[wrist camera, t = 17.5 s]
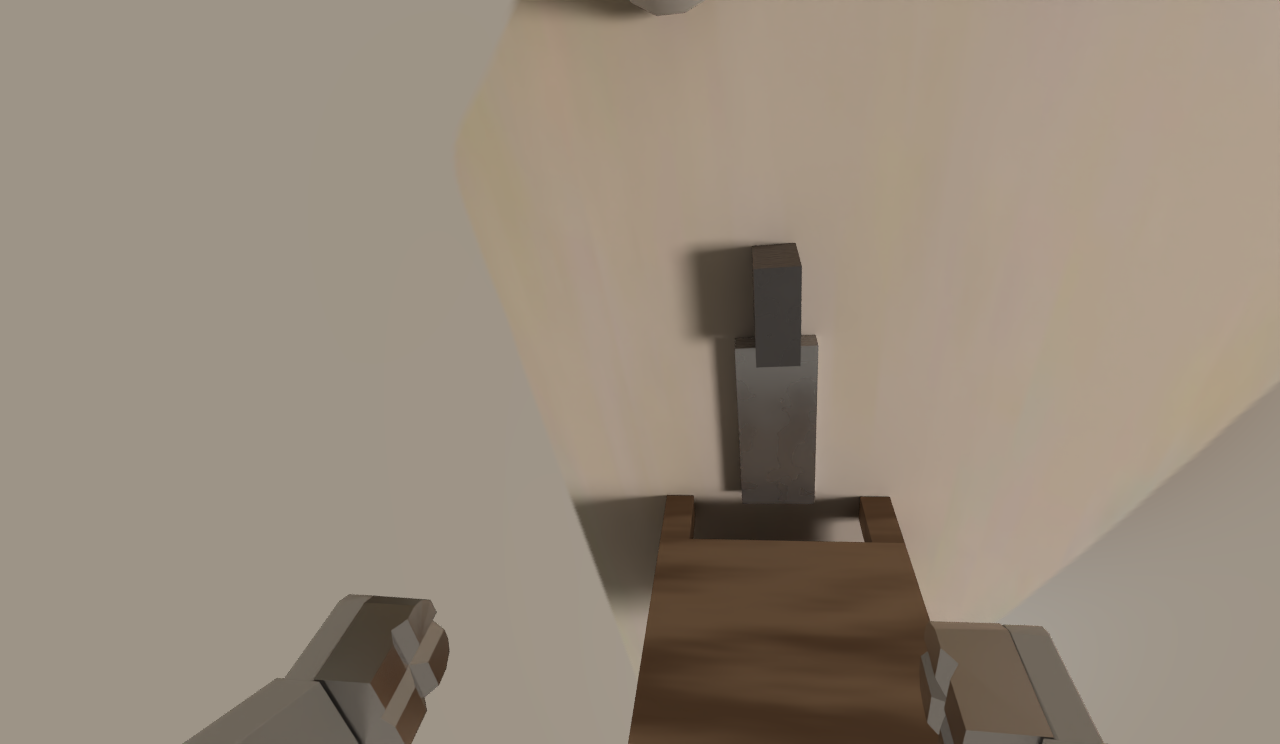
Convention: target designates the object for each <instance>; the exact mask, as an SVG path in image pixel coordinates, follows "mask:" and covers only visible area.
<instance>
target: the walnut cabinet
mask: <svg viewBox="0 0 1280 744" xmlns="http://www.w3.org/2000/svg"><path fill="white" fill-rule="evenodd" d="M859 521H860V526H861V530H862V534H863V538H864V542H823V541H773V540H723V539H693V535H694V525H695V507H694V496H682V495H667V500H666V506H665V513H664V519H663V525H662V532H661V538H660V544H659V551H658V557H657V563H656V570H655V576H654V582H653V589H652V595H651V601H650V608H649V614H648V620H647V627H646V633H645V639H644V646H643V652H642V659H641V665H640V671H639V678H638V684H637V690H636V697H635V703H634V709H633V716H632V722H631V729H630V735H629V741H628V744H937V742H938V737H939V735H938V734H937V733H936V732H935V731H934V730H933V729H932V728H931V726H930V725H929V724H928V723H927V720H926V716H925V712H924V708H923V703H922V697H921V691H920V676H919V668H920V659H921V656H922V655H923V654H925V653H926V652H927V651H928V650H927V646H926V643H925V639H924V633H925V628H926V625H927V623H928V622H929V621H930V619H929V616H928V613H927V610H926V607H925V604H924V601H923V598H922V595H921V592H920V589H919V586H918V582H917V579H916V576H915V573H914V570H913V567H912V564H911V561H910V558H909V555H908V552H907V549H906V546H905V542H904V539H903V536H902V533H901V530H900V527H899V524H898V521H897V518H896V515H895V512H894V509H893V506H892V503H891V499H890V497H860V506H859Z"/></svg>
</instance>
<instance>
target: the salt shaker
mask: <svg viewBox="0 0 1280 744" xmlns="http://www.w3.org/2000/svg"><path fill="white" fill-rule="evenodd" d="M629 1H630V2H631V3H632V4H634V5H636V6H638V7H640V8H642V9H644V10H646V11H648V12H650V13H652V14H654V15H656V16H660V15H670V14H679V13H685V12H687V11H689V10H690V9H692V8H693V7H695V6H697V5H698V4H700V3H701V2H703V1H705V0H629Z"/></svg>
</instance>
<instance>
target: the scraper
mask: <svg viewBox="0 0 1280 744" xmlns="http://www.w3.org/2000/svg"><path fill="white" fill-rule="evenodd" d="M752 264H753V297H754V330H755V337H754V338H735V364H736V385H737V405H738V426H739V446H740V467H741V488H742V504H814V492H815V453H816V414H817V376H818V342H817V338H816V335H801V284H802V265H801V262H800V258H799V254H798V250H797V247H796V243H789V244H774V245H760V246H752Z"/></svg>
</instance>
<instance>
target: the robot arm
mask: <svg viewBox="0 0 1280 744" xmlns="http://www.w3.org/2000/svg"><path fill="white" fill-rule="evenodd" d="M436 613H437V612H436V610H435V608H434V606H433V604H432V602H431V600H427V599H412V598H399V597H398V598H397V597H384V596H372V595H352V594H349V595H347V596H346V597H345V598H343V599H342V600H340V601H339V602H338V604H337V605H336V606H335V608H334V609H333V611H332V612H331V614H330V615H329V616H328V618H327V619H326V621H325V622H324V623H323V625H322V626H321V628H320V629H319V630H318V632H317V633H316V635H315V636H314V638H313V639H312V640H311V642H310V643H309V644H308V646H307V647H306V649H305V650H304V651H303V653H302V654H301V656H300V657H299V658H298V660H297V661H296V663H295V664H294V666H293V667H292V668H291V670H290V671H289V672H288V674H287V675H286V677H285V678H276V679H275V680H274V681H272V682H270V683H269V684H268V685H266V686H265V687H263V688H262V689H260V690H259V691H258V692H256V693H255V694H253V695H252V696H251V697H249V698H247V699H246V700H245V701H243V702H242V703H241V704H239V705H237V706H236V707H235V708H233V709H232V710H230V711H229V712H227V713H226V714H225V715H223V716H222V717H220V718H219V719H217V720H216V721H214V722H213V723H212V724H210V725H209V726H207V727H206V728H205V729H203V730H202V731H200V732H199V733H197V734H196V735H194V736H193V737H192V738H190V739H189V740H187V741H186V742H184V743H183V744H411V743H412V741H413V739H414V737H415V735H416V733H417V730H418V728H419V726H420V724H421V722H422V720H423V718H424V716H425V714H426V712H427V708H426V702H425V696H427V695H428V694H429V693H430V692H431V691H433V690H434V689H435V688H436V687H437V686H438V685H439V684H440V681H441V679H442V677H443V675H444V672H445V670H446V666H447V661H448V656H449V642H448V637H447V635H446V632H445V630H444V629H443V628H442V627H441V626H439V625H438V624H437V623H436V622H434V621H433V619H434V617H435V614H436ZM924 639H925V643H926V646H927V650H928V651H927V652H926V653H925V654H923V655H922V656H921V659H920V668H919V676H920V691H921V697H922V703H923V708H924V712H925V716H926V720H927V723H928V724H929V725H930V726H931V728H932V729H933V730H934V731H935V732H936V733H937V734H938V735H939V737H938V742H937V744H1105V743H1103V741H1102V738H1101V736H1100V734H1099V733H1098V731H1097V728H1096V726H1095V724H1094V722H1093V721H1092V718H1091V716H1090V715H1089V712H1088V710H1087V708H1086V706H1085V704H1084V702H1083V700H1082V698H1081V696H1080V694H1079V692H1078V690H1077V688H1076V686H1075V684H1074V682H1073V680H1072V678H1071V676H1070V674H1069V672H1068V670H1067V668H1066V666H1065V664H1064V662H1063V660H1062V658H1061V656H1060V654H1059V652H1058V650H1057V648H1056V646H1055V644H1054V642H1053V640H1052V638H1051V636H1050V634H1049V633H1048V632H1047V631H1046V630H1045V629H1044V628H1043V627H1042V626H1027V625H1001V624H999V623H969V622H937V621H929V622H928V623H927V625H926V628H925V633H924Z"/></svg>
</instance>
